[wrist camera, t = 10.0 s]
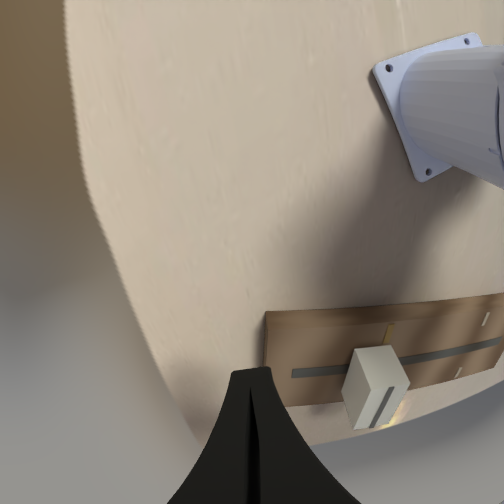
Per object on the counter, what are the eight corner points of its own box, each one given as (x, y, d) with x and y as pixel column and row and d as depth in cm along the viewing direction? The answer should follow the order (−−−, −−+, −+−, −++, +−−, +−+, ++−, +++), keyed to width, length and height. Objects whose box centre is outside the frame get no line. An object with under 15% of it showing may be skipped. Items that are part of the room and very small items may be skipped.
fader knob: (390, 344, 22) (410, 384, 18) (373, 386, 24) (388, 424, 20) (354, 348, 22) (371, 391, 18) (341, 391, 24) (353, 431, 20)
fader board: (517, 290, 24) (528, 302, 22) (485, 356, 28) (494, 368, 26) (265, 311, 22) (268, 330, 21) (261, 390, 27) (263, 408, 25)
